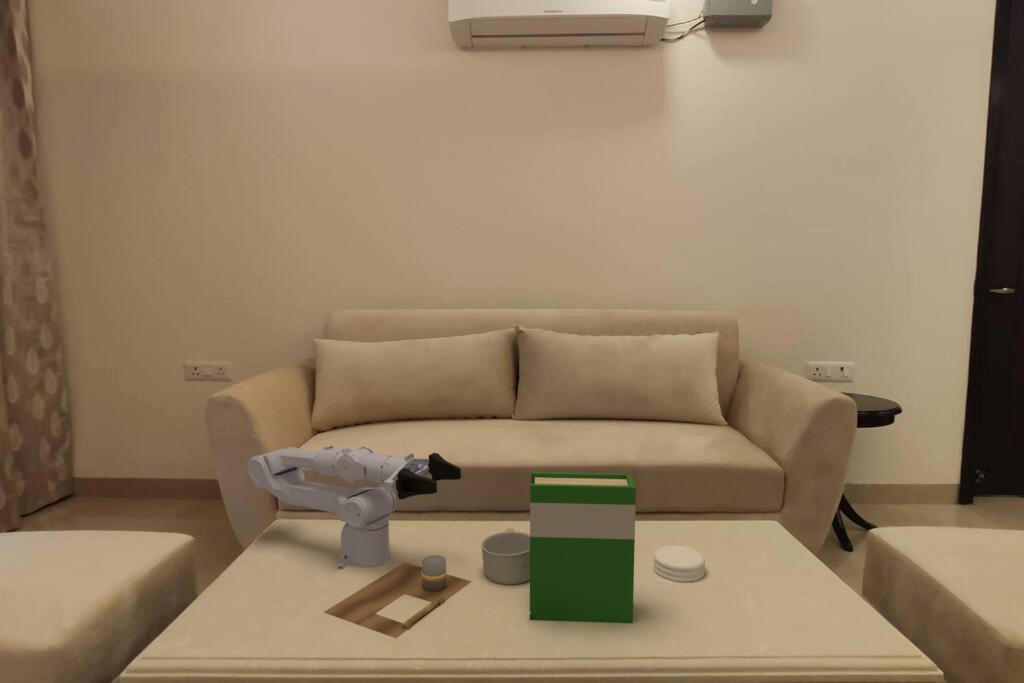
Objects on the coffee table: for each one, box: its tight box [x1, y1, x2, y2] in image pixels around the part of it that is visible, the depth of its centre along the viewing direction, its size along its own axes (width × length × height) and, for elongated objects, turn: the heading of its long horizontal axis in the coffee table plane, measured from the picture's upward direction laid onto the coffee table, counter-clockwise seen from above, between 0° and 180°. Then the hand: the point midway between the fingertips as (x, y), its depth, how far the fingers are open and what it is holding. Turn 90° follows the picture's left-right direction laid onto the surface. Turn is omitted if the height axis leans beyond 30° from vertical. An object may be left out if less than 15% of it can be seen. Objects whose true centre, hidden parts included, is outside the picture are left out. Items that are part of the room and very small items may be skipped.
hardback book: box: [529, 471, 637, 624], centre depth 115 cm, size 18×7×24 cm, turn 87°
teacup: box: [480, 527, 530, 586], centre depth 128 cm, size 14×11×8 cm
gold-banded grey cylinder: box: [421, 554, 448, 592], centre depth 122 cm, size 5×5×5 cm
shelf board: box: [323, 562, 472, 639], centre depth 118 cm, size 16×22×2 cm
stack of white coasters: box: [653, 545, 706, 583], centre depth 131 cm, size 10×10×4 cm
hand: (448, 480), depth 121 cm, fingers open, 7 cm apart
